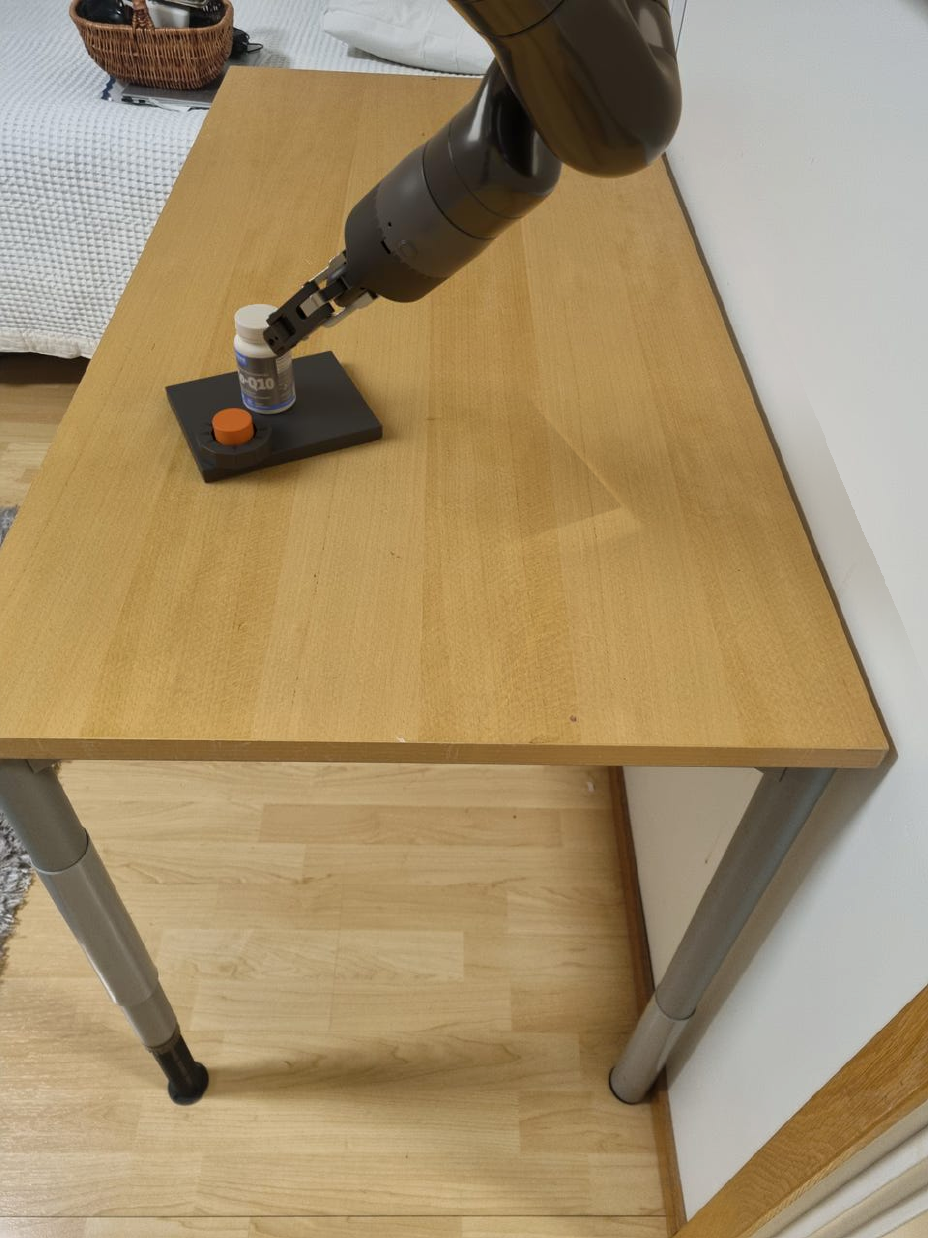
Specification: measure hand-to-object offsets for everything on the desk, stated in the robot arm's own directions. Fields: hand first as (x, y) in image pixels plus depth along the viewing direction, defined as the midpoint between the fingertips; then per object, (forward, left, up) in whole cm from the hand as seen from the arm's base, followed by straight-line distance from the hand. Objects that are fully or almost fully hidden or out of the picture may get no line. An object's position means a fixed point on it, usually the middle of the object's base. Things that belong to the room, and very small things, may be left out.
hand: (308, 320), depth 74 cm
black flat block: (-3, +4, -11) cm, 12 cm away
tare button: (-7, 0, -9) cm, 12 cm away
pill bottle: (-3, +5, -10) cm, 12 cm away
